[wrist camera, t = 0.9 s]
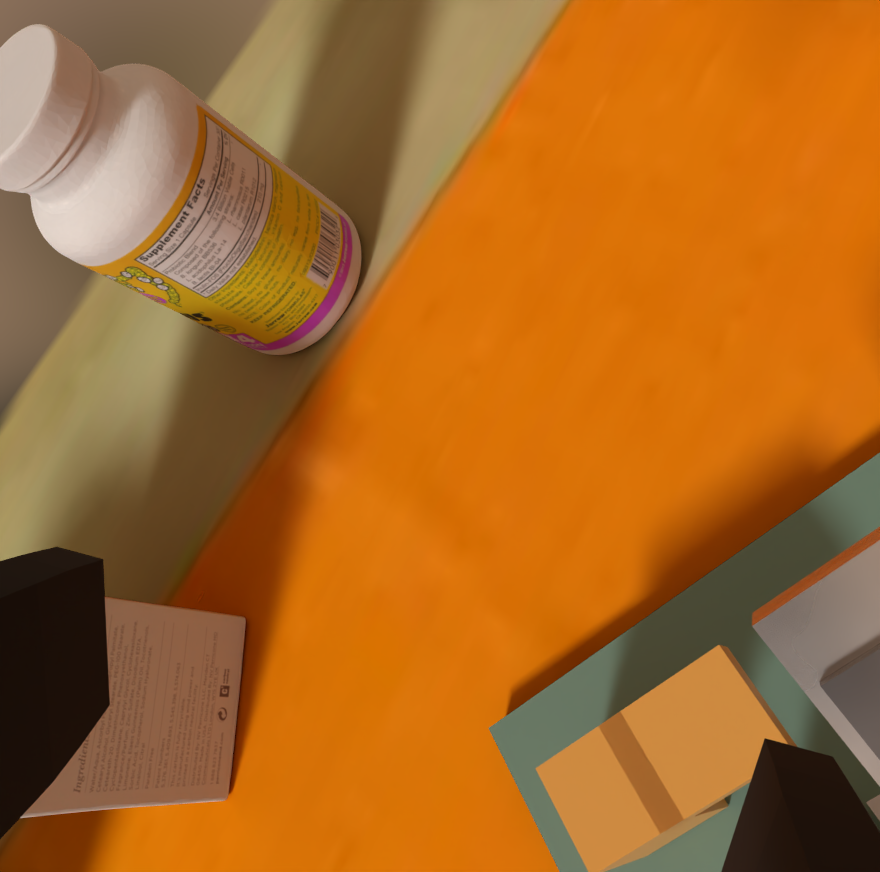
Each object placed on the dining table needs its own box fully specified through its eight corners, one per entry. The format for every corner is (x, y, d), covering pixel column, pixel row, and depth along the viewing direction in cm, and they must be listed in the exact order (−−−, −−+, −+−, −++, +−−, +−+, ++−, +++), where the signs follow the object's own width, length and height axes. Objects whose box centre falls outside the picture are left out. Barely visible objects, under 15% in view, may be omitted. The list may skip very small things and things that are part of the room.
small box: (251, 614, 31) (-134, 556, 20) (232, 803, 29) (-205, 846, 18) (108, 618, 35) (-272, 572, 24) (83, 783, 33) (-341, 810, 23)
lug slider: (595, 763, 22) (535, 768, 19) (757, 656, 20) (719, 644, 18) (646, 856, 20) (590, 877, 18) (823, 748, 19) (793, 752, 16)
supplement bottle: (223, 295, 37) (-79, 126, 26) (324, 180, 35) (45, -45, 25) (281, 395, 33) (-44, 245, 23) (397, 272, 32) (105, 52, 21)
